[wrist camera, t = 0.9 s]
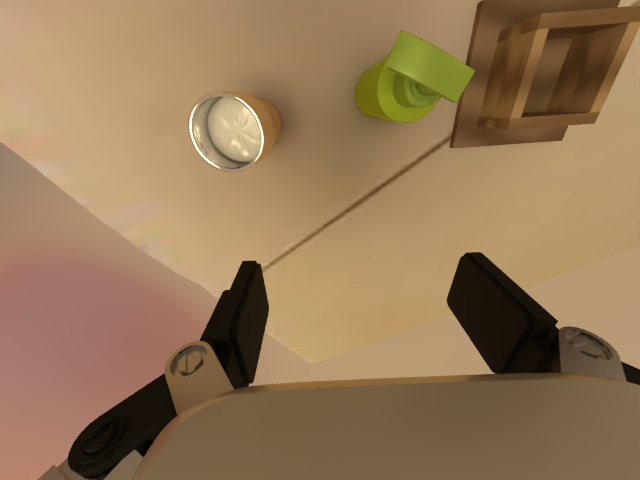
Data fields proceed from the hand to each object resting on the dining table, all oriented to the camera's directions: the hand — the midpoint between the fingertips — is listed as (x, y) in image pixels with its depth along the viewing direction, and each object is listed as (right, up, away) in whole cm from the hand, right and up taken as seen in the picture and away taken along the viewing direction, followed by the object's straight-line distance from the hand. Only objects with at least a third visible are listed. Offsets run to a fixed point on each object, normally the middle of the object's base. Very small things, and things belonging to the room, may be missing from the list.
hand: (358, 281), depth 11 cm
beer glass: (-10, +19, +23) cm, 31 cm away
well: (+25, +24, +21) cm, 40 cm away
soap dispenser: (+5, +22, +21) cm, 31 cm away
